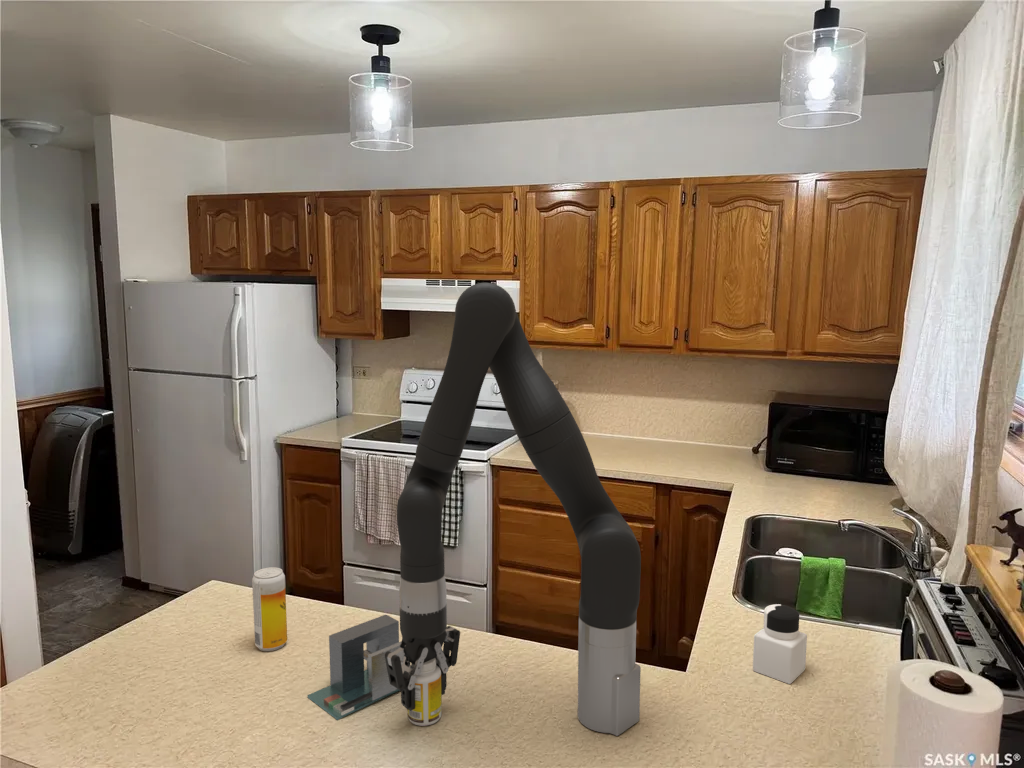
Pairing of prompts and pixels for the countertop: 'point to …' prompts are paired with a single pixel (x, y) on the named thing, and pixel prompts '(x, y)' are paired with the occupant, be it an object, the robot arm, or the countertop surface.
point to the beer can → (269, 608)
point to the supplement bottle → (427, 695)
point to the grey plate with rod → (376, 676)
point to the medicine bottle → (780, 645)
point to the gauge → (354, 664)
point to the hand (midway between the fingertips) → (424, 700)
